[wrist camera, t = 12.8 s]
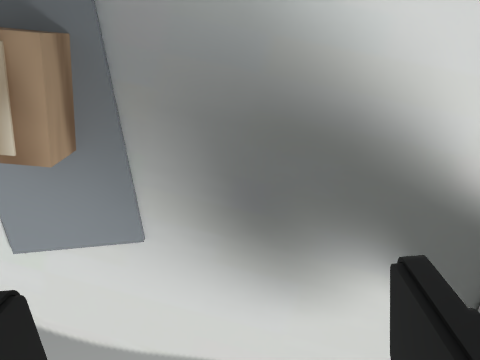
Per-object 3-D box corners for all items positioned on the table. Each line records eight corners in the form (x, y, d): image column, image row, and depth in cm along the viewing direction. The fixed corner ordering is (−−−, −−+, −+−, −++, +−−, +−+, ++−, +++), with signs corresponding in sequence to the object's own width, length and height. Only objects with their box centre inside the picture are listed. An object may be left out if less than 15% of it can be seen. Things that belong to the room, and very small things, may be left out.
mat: (145, 238, 36) (143, 241, 35) (17, 250, 36) (13, 254, 35) (65, -133, 26) (61, -137, 25) (-108, -110, 26) (-116, -114, 26)
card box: (69, 33, 29) (38, 33, 24) (76, 150, 32) (49, 168, 28) (-13, 25, 29) (-59, 24, 24) (2, 143, 32) (-37, 161, 27)
